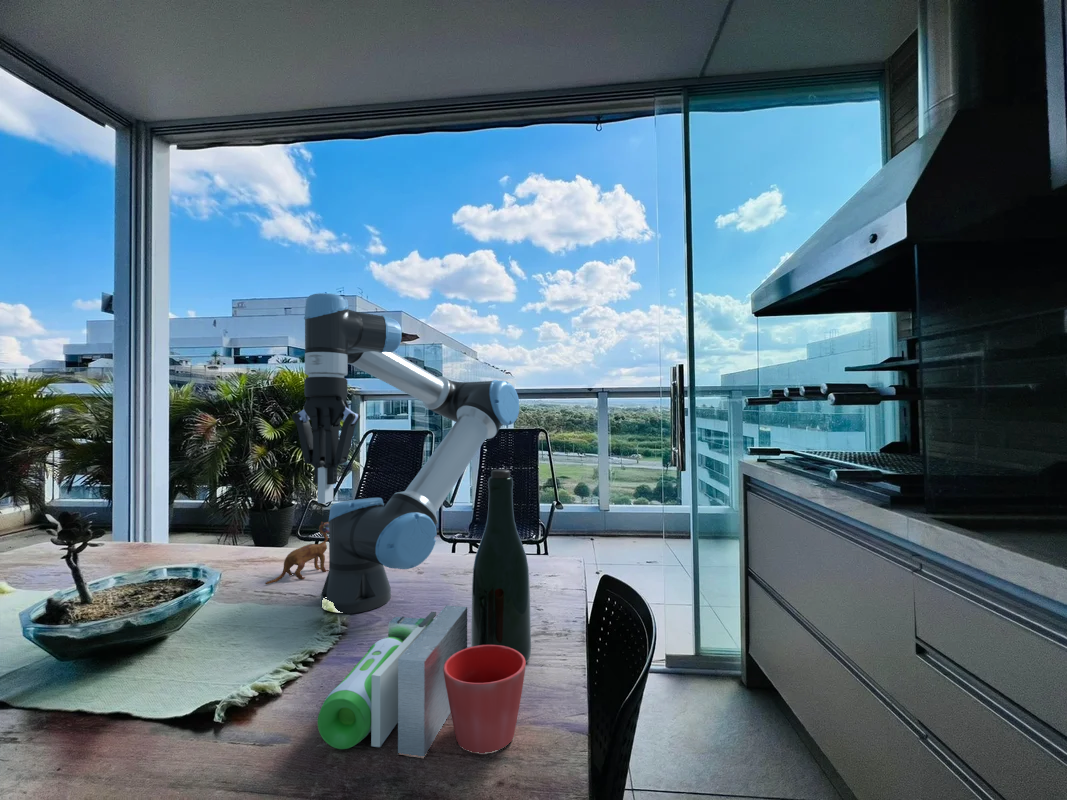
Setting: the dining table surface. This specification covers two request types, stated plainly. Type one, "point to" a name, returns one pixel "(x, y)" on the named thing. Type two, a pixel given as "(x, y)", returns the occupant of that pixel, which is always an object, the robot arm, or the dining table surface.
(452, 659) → the flower pot
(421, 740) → the frame
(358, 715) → the speaker
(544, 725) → the dining table surface
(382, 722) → the plate
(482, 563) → the beer bottle
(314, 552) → the cat figurine
